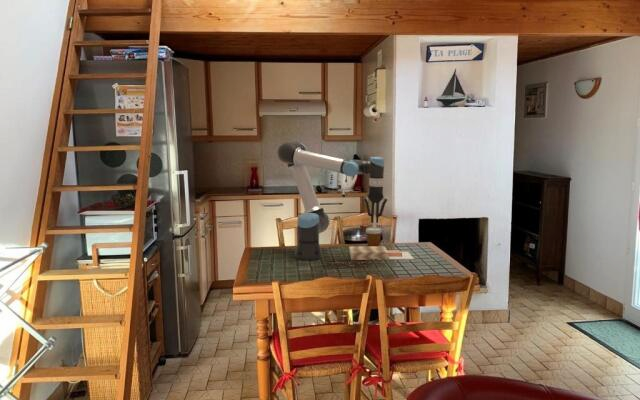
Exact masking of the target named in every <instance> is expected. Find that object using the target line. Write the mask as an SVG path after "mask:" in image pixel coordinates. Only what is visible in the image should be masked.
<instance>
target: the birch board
mask: <svg viewBox="0 0 640 400" xmlns="http://www.w3.org/2000/svg"><path fill="white" fill-rule="evenodd" d="M348 250H349V251H348V253H349V257H350V261H351V260H352V261H363V260H364V261H366V260H367V261H373V260H375V259H377V260H375V261H380V260H381V261H386V260H387V261H388V260H389V252H388V251H387V250H388V249H387V248H386V246H384V245H381V246H380V245H379V246H368V245H367V246H364V245H363V246H360V245H359V246H357V245H356V246H349V249H348Z"/></svg>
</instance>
